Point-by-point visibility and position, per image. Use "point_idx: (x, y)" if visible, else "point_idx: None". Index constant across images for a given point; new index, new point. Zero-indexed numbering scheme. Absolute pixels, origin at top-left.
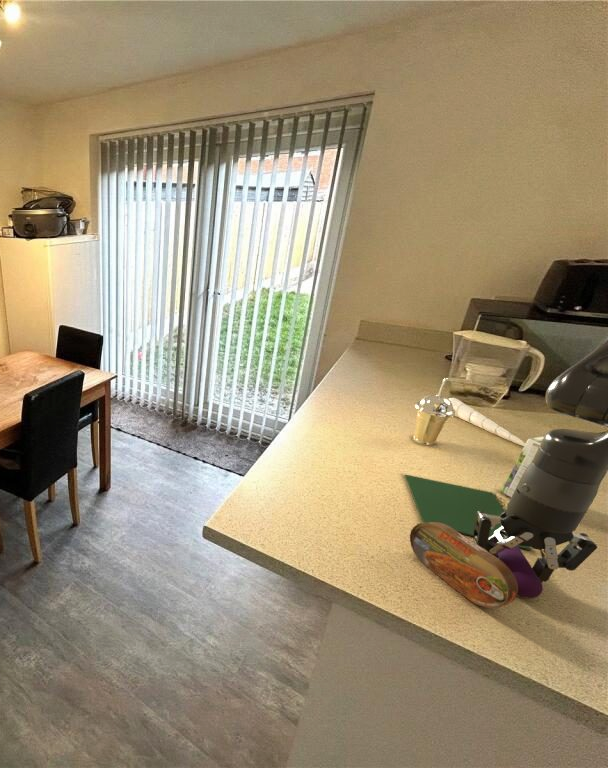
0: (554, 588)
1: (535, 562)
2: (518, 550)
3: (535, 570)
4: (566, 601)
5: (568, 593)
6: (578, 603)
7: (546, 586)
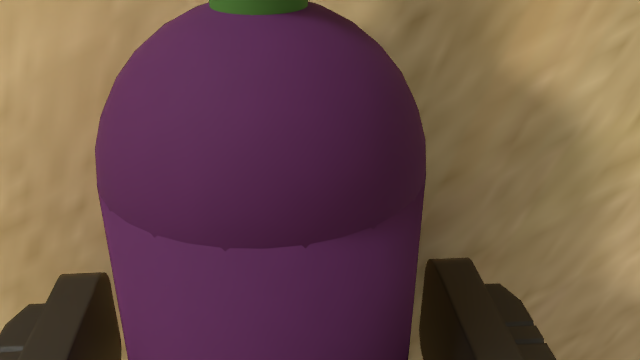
0: (561, 259)
1: (472, 352)
2: (337, 341)
3: (448, 347)
4: (561, 350)
5: (631, 269)
6: (630, 335)
7: (514, 263)
